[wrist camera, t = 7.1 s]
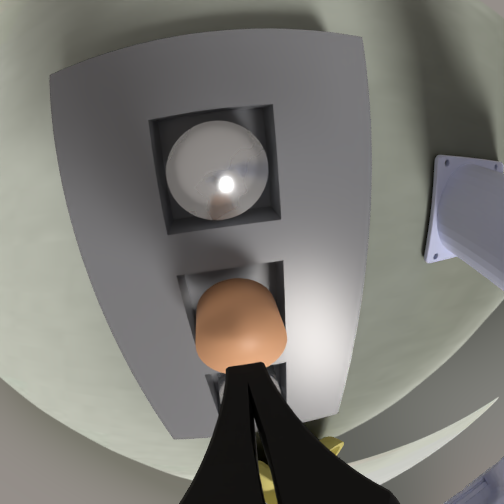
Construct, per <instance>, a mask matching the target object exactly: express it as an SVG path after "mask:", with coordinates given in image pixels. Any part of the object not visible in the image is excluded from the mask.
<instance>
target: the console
mask: <svg viewBox="0 0 504 504" xmlns="http://www.w3.org/2000/svg"><path fill="white" fill-rule="evenodd" d="M50 99H51V113H52V123H53V132H54V140H55V147H56V153H57V159H58V165H59V171H60V176H61V181H62V186H63V190H64V195H65V199H66V203H67V207H68V211H69V215H70V219H71V223H72V226H73V230H74V233H75V237H76V240H77V243H78V246H79V250H80V253H81V256H82V259H83V262H84V265H85V267H86V270H87V273H88V276H89V279H90V281H91V284H92V287H93V289H94V292H95V294H96V297H97V299H98V302H99V304H100V307H101V309H102V311H103V314H104V316H105V318H106V321H107V323H108V325H109V327H110V329H111V332H112V334H113V336H114V338H115V340H116V342H117V344H118V346H119V348H120V350H121V352H122V354H123V356H124V358H125V360H126V362H127V364H128V366H129V368H130V369H131V371H132V373H133V375H134V377H135V379H136V380H137V382H138V384H139V386H140V387H141V389H142V391H143V393H144V394H145V396H146V398H147V399H148V401H149V402H150V404H151V406H152V407H153V409H154V411H155V412H156V414H157V415H158V417H159V418H160V420H161V421H162V423H163V424H164V426H165V427H166V429H167V430H168V432H169V433H170V435H171V436H172V437H173V439H194V438H208V437H212V435H213V432H214V428H215V425H216V422H217V419H218V415H219V411H220V407H221V403H220V397H219V385H218V373H221V372H218V371H216V370H214V369H212V368H210V367H208V366H207V365H206V364H205V363H203V361H202V360H201V359H200V358H199V356H198V354H197V351H196V309H197V304H198V301H199V299H200V298H201V296H202V295H203V293H204V292H205V291H206V290H207V289H209V288H210V287H211V286H213V285H214V284H216V283H218V282H220V281H224V280H227V279H233V278H244V279H250V280H254V281H256V282H258V283H260V284H262V285H263V286H265V287H266V288H267V289H268V290H269V291H270V292H271V294H272V295H273V297H274V300H275V302H276V305H277V308H278V310H279V313H280V316H281V318H282V321H283V324H284V326H285V329H286V332H287V344H286V347H285V349H284V351H283V353H282V354H281V356H280V357H279V358H278V359H277V360H276V361H275V362H274V363H272V364H271V365H273V366H274V369H275V373H276V377H277V380H278V384H279V387H280V391H281V395H282V397H283V398H284V400H285V401H286V402H287V404H288V405H289V406H290V408H291V409H292V410H293V412H294V413H295V414H296V416H297V417H298V418H299V419H300V420H301V421H302V423H303V422H307V421H311V420H315V419H319V418H323V417H327V416H330V415H334V414H337V413H338V411H339V407H340V403H341V399H342V396H343V392H344V388H345V384H346V379H347V375H348V371H349V366H350V362H351V357H352V352H353V347H354V342H355V337H356V331H357V326H358V320H359V314H360V307H361V301H362V294H363V286H364V278H365V270H366V261H367V251H368V239H369V226H370V209H371V179H372V148H371V119H370V102H369V90H368V79H367V70H366V61H365V54H364V46H363V40H362V37H359V36H353V35H347V34H340V33H332V32H323V31H313V30H300V29H272V28H261V29H234V30H220V31H210V32H201V33H193V34H187V35H180V36H174V37H169V38H164V39H159V40H154V41H149V42H145V43H141V44H137V45H133V46H129V47H125V48H122V49H118V50H115V51H112V52H108V53H105V54H102V55H99V56H96V57H93V58H91V59H88V60H85V61H82V62H80V63H77V64H75V65H72V66H70V67H67V68H65V69H62V70H60V71H58V72H56V73H53V74H51V75H50ZM209 121H228V122H232V123H235V124H238V125H240V126H242V127H244V128H246V129H247V130H249V131H250V132H251V133H252V134H253V135H254V136H255V137H256V138H257V139H258V140H259V142H260V143H261V145H262V146H263V149H264V151H265V153H266V157H267V161H268V178H267V182H266V186H265V188H264V191H263V192H262V194H261V196H260V197H259V199H258V200H257V201H256V202H255V204H254V205H253V206H252V207H250V208H249V209H248V210H247V211H245V212H243V213H242V214H240V215H238V216H235V217H232V218H229V219H224V220H208V219H203V218H200V217H197V216H195V215H193V214H191V213H189V212H188V211H186V210H185V209H184V208H182V207H181V206H180V205H179V204H178V203H177V201H176V200H175V199H174V197H173V195H172V194H171V192H170V189H169V187H168V183H167V178H166V165H167V160H168V156H169V153H170V151H171V149H172V147H173V146H174V144H175V142H176V141H177V140H178V139H179V138H180V136H181V135H183V134H184V133H185V132H186V131H188V130H189V129H191V128H192V127H194V126H196V125H198V124H201V123H204V122H209ZM254 421H255V419H254ZM255 432H258V429H257V426H256V422H255Z"/></svg>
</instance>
